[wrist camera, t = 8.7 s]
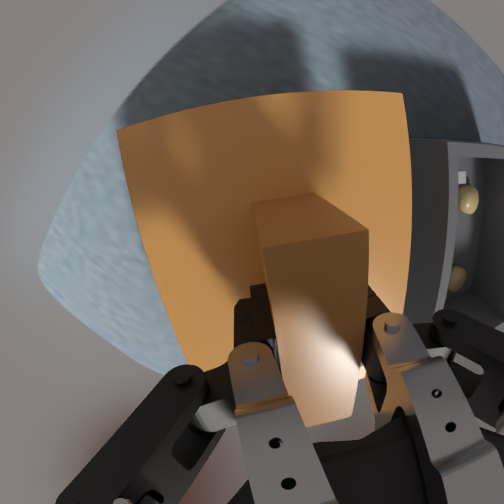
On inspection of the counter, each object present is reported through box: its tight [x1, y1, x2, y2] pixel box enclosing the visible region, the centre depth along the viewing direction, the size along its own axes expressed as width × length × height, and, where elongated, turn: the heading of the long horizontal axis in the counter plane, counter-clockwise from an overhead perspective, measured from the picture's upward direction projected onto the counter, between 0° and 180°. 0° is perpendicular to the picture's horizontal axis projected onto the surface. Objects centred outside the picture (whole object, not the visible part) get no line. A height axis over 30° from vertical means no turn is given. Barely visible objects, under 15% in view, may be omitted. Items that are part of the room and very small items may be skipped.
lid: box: [116, 90, 412, 427], centre depth 11 cm, size 12×16×7 cm
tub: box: [403, 138, 504, 354], centre depth 16 cm, size 12×16×7 cm
